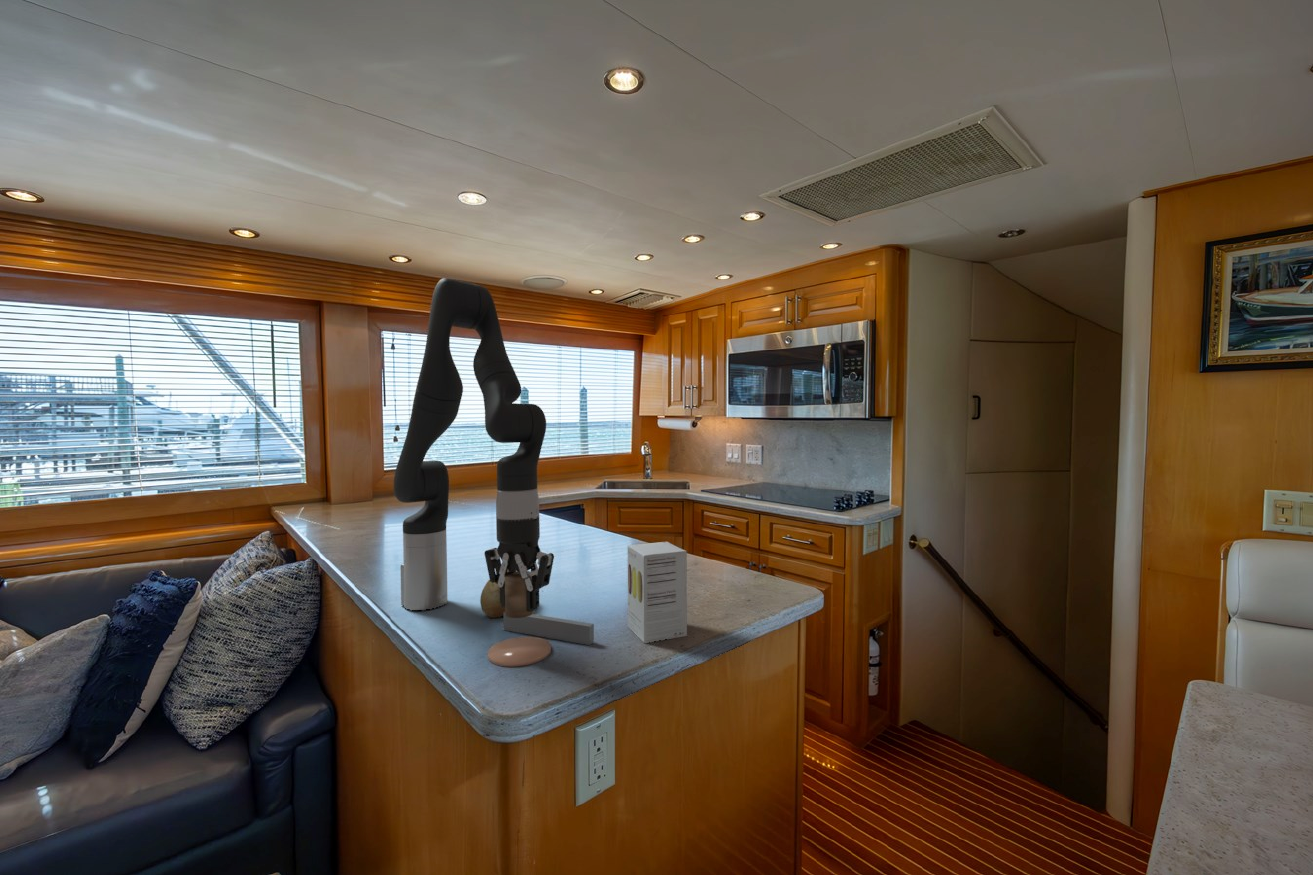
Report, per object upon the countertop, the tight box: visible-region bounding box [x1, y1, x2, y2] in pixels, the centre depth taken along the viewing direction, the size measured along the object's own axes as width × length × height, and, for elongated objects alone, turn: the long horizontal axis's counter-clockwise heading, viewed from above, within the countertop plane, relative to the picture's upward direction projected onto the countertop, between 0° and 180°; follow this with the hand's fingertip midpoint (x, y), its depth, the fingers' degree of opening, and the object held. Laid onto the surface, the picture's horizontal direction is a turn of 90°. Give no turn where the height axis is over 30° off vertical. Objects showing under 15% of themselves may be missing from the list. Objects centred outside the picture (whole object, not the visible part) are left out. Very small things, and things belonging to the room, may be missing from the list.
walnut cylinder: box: [505, 570, 535, 618], centre depth 96 cm, size 5×5×7 cm
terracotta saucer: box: [487, 636, 552, 668], centre depth 96 cm, size 11×11×1 cm
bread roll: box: [479, 579, 505, 619], centre depth 120 cm, size 10×15×8 cm, turn 178°
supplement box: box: [627, 541, 688, 644], centre depth 105 cm, size 10×9×17 cm
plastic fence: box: [502, 612, 595, 646], centre depth 104 cm, size 20×2×4 cm, turn 67°
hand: (519, 607), depth 96 cm, fingers closed on walnut cylinder, 5 cm apart
